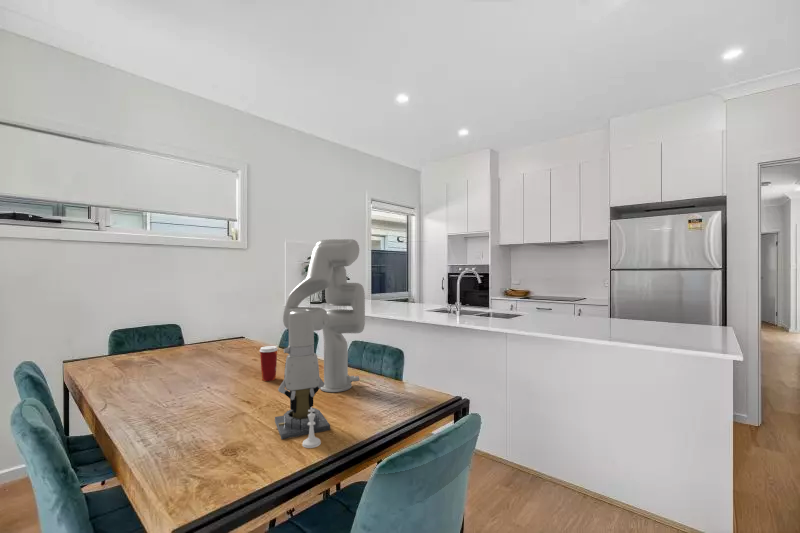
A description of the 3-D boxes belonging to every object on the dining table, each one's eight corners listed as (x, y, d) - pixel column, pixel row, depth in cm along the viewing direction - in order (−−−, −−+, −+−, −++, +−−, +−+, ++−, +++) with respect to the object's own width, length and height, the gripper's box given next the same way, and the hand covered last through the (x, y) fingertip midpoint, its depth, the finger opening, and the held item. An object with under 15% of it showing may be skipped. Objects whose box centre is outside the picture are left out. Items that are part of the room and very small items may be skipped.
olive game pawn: (288, 423, 115) (288, 387, 115) (297, 415, 121) (297, 381, 121) (306, 425, 114) (306, 388, 114) (315, 417, 120) (315, 382, 120)
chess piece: (303, 440, 107) (303, 404, 107) (321, 439, 108) (321, 404, 108) (300, 448, 102) (300, 411, 102) (319, 447, 103) (319, 410, 103)
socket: (318, 414, 127) (318, 402, 127) (330, 430, 114) (330, 417, 114) (274, 421, 121) (274, 409, 121) (281, 439, 108) (281, 425, 108)
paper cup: (281, 378, 168) (281, 346, 169) (267, 383, 162) (267, 349, 162) (270, 376, 173) (269, 344, 173) (255, 380, 166) (255, 348, 166)
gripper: (274, 356, 110) (275, 419, 110) (331, 350, 118) (331, 409, 118) (271, 351, 117) (271, 410, 117) (325, 345, 124) (325, 402, 124)
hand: (301, 409), depth 117 cm, fingers closed on olive game pawn, 4 cm apart
